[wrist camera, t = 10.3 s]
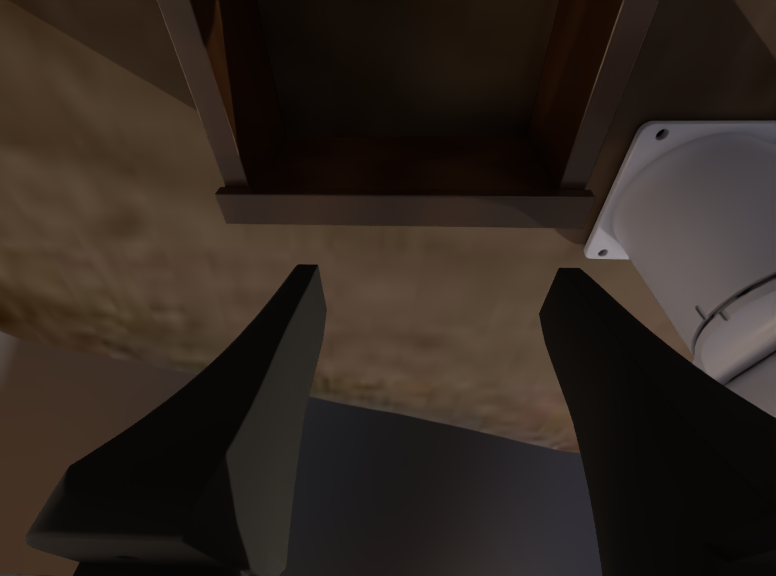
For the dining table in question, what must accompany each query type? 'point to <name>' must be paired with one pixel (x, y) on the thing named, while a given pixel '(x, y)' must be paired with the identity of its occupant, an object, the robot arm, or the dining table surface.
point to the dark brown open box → (407, 154)
